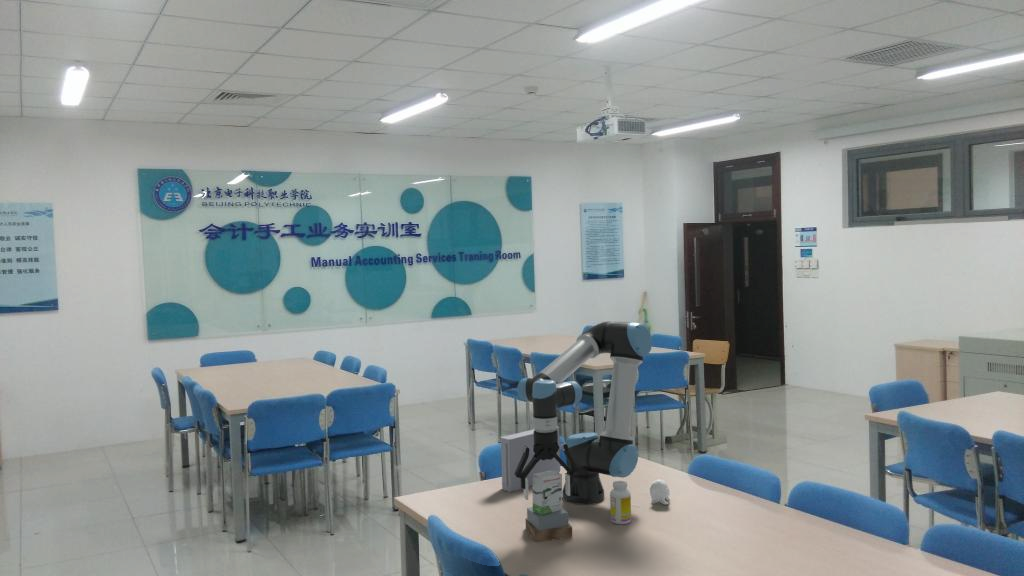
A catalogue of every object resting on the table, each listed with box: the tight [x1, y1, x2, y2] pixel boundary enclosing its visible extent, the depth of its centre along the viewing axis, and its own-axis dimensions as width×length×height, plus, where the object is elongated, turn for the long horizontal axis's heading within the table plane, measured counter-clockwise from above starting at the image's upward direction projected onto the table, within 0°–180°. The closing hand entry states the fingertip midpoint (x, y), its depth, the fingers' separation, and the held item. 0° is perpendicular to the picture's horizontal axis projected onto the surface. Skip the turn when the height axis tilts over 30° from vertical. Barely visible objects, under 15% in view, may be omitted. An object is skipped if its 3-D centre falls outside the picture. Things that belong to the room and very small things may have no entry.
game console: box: [500, 426, 561, 493], centre depth 294 cm, size 6×27×20 cm, turn 133°
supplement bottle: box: [609, 480, 632, 525], centre depth 249 cm, size 7×7×13 cm
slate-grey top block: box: [526, 506, 570, 531], centre depth 240 cm, size 10×10×4 cm
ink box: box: [532, 470, 563, 515], centre depth 240 cm, size 9×5×12 cm, turn 125°
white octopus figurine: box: [649, 478, 671, 506], centre depth 269 cm, size 6×8×12 cm
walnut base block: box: [525, 517, 573, 543], centre depth 241 cm, size 12×12×4 cm
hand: (547, 496), depth 239 cm, fingers open, 13 cm apart
